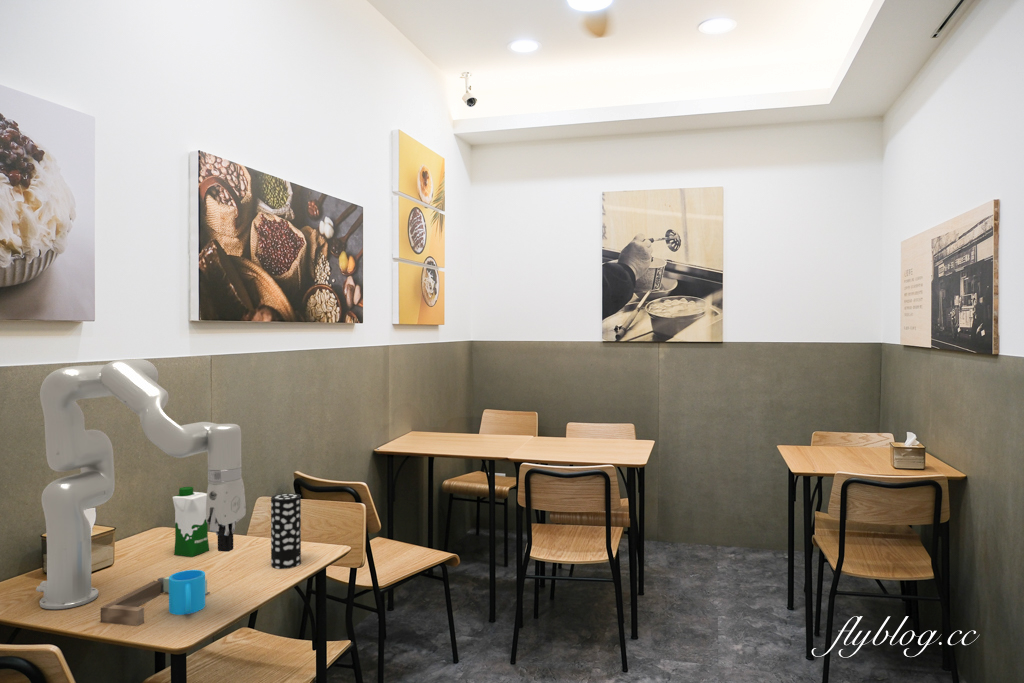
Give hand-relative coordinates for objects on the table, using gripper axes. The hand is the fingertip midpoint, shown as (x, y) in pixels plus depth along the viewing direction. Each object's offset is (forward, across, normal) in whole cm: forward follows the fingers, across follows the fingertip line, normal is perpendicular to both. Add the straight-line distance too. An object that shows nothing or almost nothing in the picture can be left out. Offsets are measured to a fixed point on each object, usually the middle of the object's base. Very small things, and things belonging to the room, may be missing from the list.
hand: (225, 550), depth 166 cm
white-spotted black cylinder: (+16, +36, +4) cm, 39 cm away
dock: (+15, +1, +19) cm, 24 cm away
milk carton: (+15, +40, +38) cm, 57 cm away
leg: (+15, +9, +18) cm, 25 cm away
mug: (+16, 0, +10) cm, 19 cm away
